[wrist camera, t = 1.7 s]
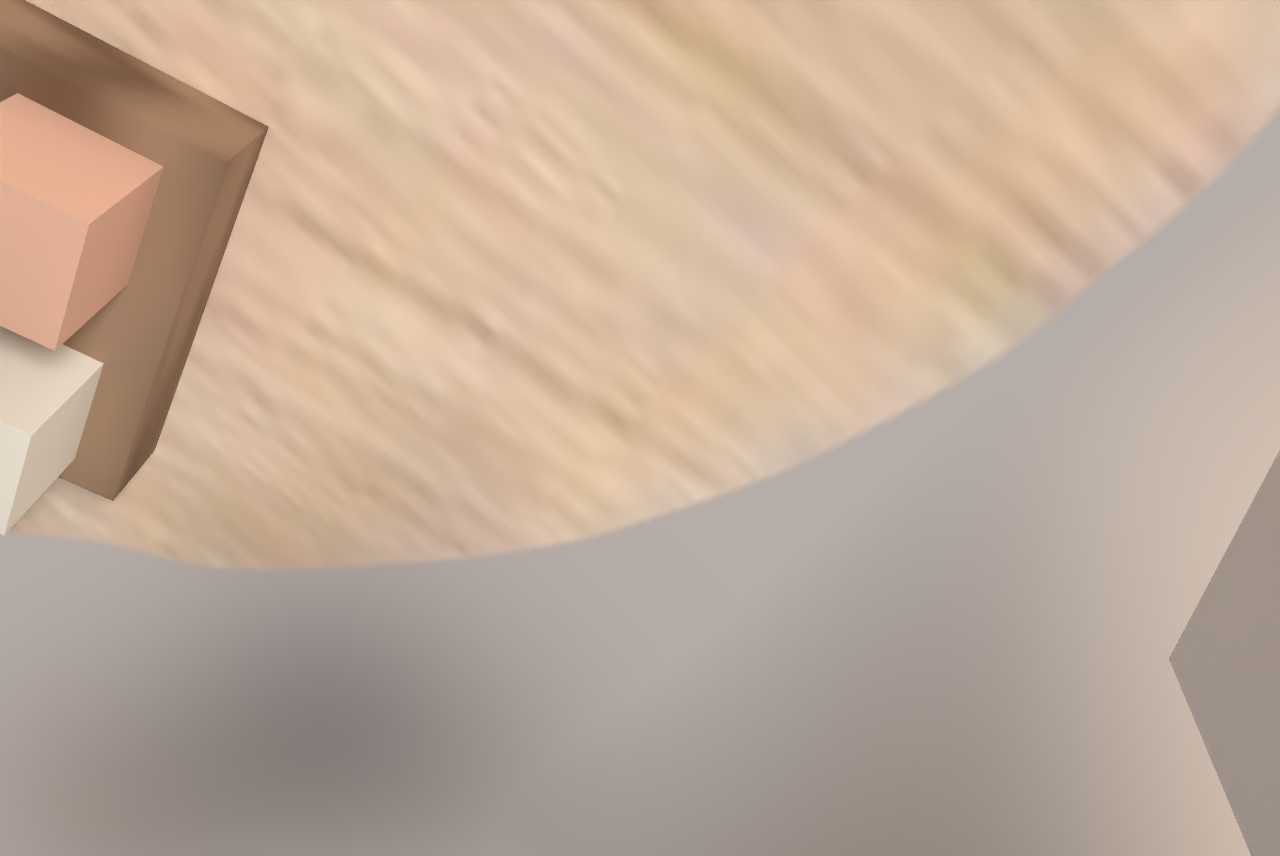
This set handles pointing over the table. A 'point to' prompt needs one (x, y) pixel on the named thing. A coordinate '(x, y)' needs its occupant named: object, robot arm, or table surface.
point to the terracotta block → (65, 220)
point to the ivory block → (39, 417)
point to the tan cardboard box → (174, 233)
